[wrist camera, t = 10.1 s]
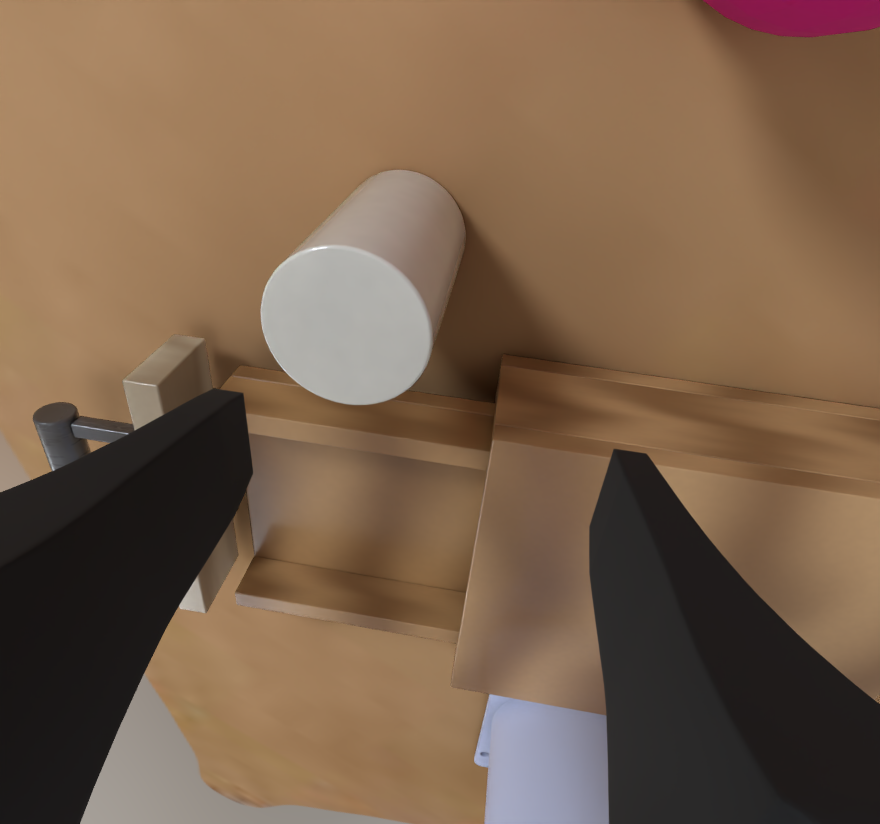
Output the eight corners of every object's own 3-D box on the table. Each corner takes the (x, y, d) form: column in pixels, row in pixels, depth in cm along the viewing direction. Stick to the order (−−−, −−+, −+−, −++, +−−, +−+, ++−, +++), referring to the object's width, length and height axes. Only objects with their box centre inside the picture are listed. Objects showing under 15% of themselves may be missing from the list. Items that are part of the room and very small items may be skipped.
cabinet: (463, 586, 28) (450, 687, 24) (502, 353, 21) (492, 439, 17) (781, 641, 27) (824, 756, 23) (934, 415, 20) (1036, 523, 16)
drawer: (122, 535, 28) (78, 591, 26) (55, 315, 22) (-14, 359, 19) (501, 600, 27) (497, 666, 24) (549, 388, 21) (550, 446, 18)
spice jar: (458, 300, 20) (425, 418, 15) (343, 284, 21) (266, 393, 15) (472, 177, 18) (440, 259, 12) (342, 161, 18) (251, 233, 13)
